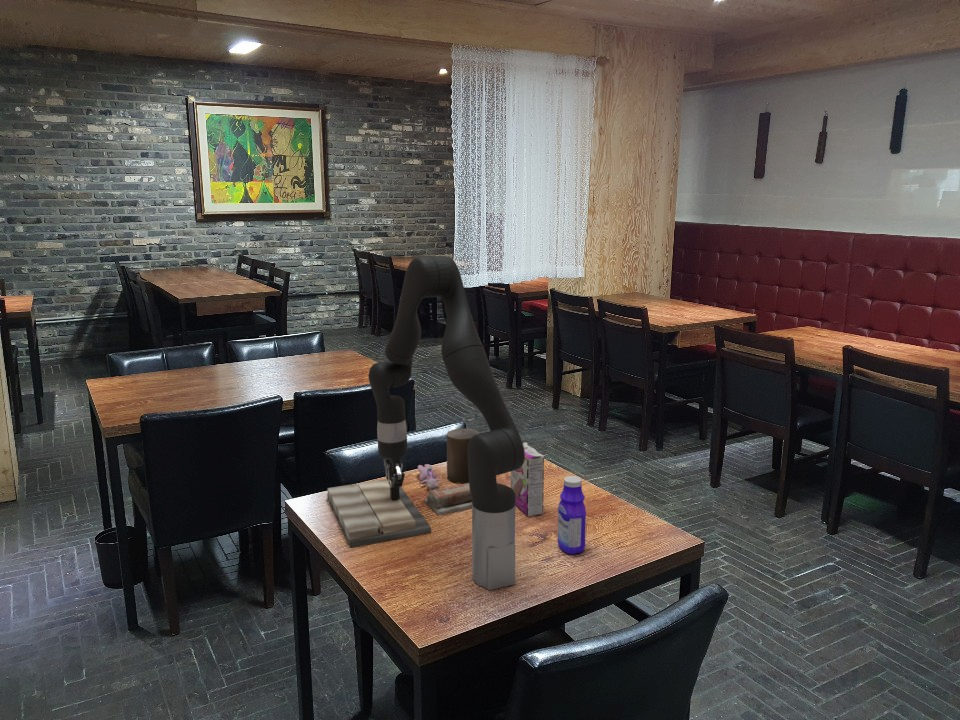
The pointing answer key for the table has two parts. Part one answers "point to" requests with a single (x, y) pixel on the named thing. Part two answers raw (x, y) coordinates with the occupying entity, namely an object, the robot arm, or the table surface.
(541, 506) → the candy bar box
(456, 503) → the packaged product
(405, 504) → the floor section
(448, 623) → the table surface
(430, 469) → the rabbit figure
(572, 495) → the bottle
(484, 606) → the table surface
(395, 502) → the loose plank
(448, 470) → the pillar candle
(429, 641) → the table surface
